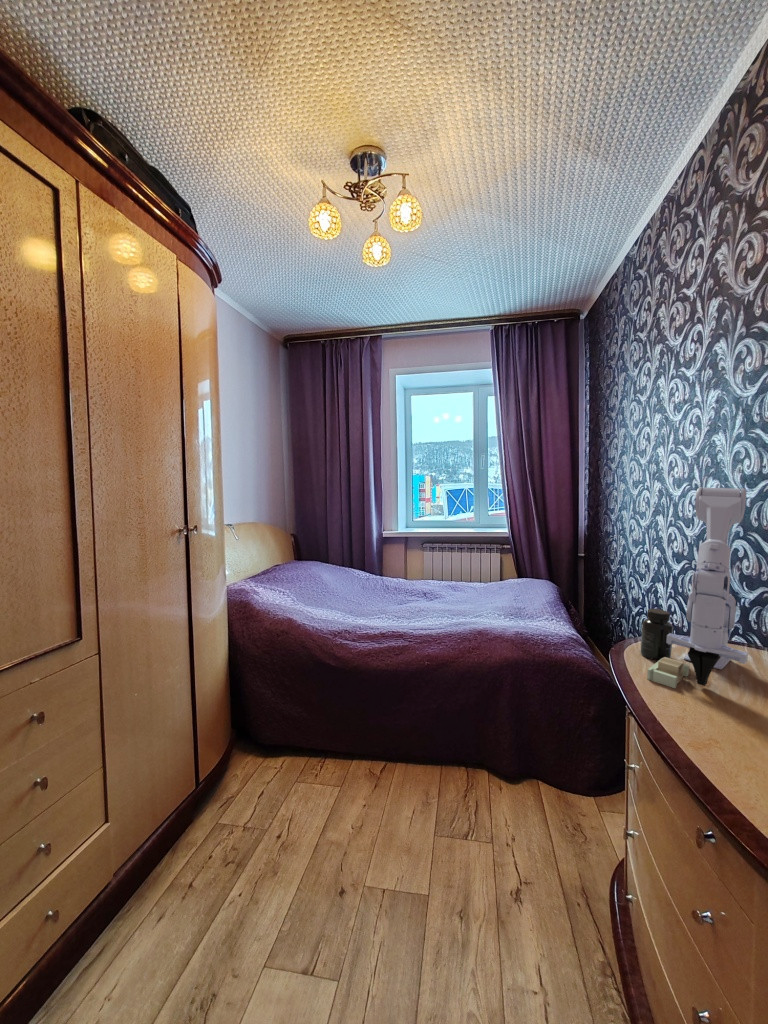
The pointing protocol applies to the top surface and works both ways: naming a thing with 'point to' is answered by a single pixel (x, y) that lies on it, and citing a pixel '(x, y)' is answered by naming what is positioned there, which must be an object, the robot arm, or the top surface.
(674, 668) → the birch block
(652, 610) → the supplement bottle
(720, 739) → the top surface
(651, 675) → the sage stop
